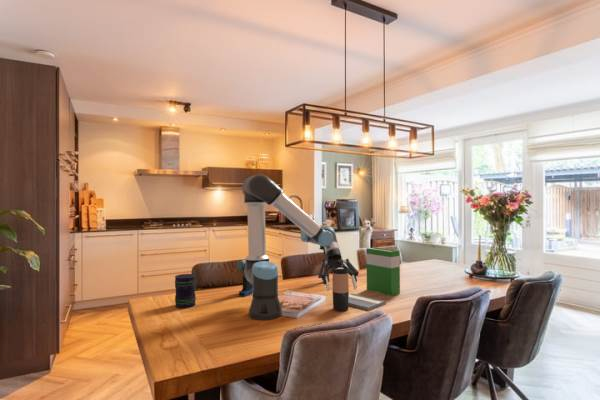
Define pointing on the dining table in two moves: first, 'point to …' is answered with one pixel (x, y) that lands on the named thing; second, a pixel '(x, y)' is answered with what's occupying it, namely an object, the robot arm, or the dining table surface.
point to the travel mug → (340, 288)
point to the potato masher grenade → (325, 260)
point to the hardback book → (383, 270)
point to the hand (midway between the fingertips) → (342, 289)
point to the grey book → (364, 302)
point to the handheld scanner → (244, 280)
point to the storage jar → (185, 291)
